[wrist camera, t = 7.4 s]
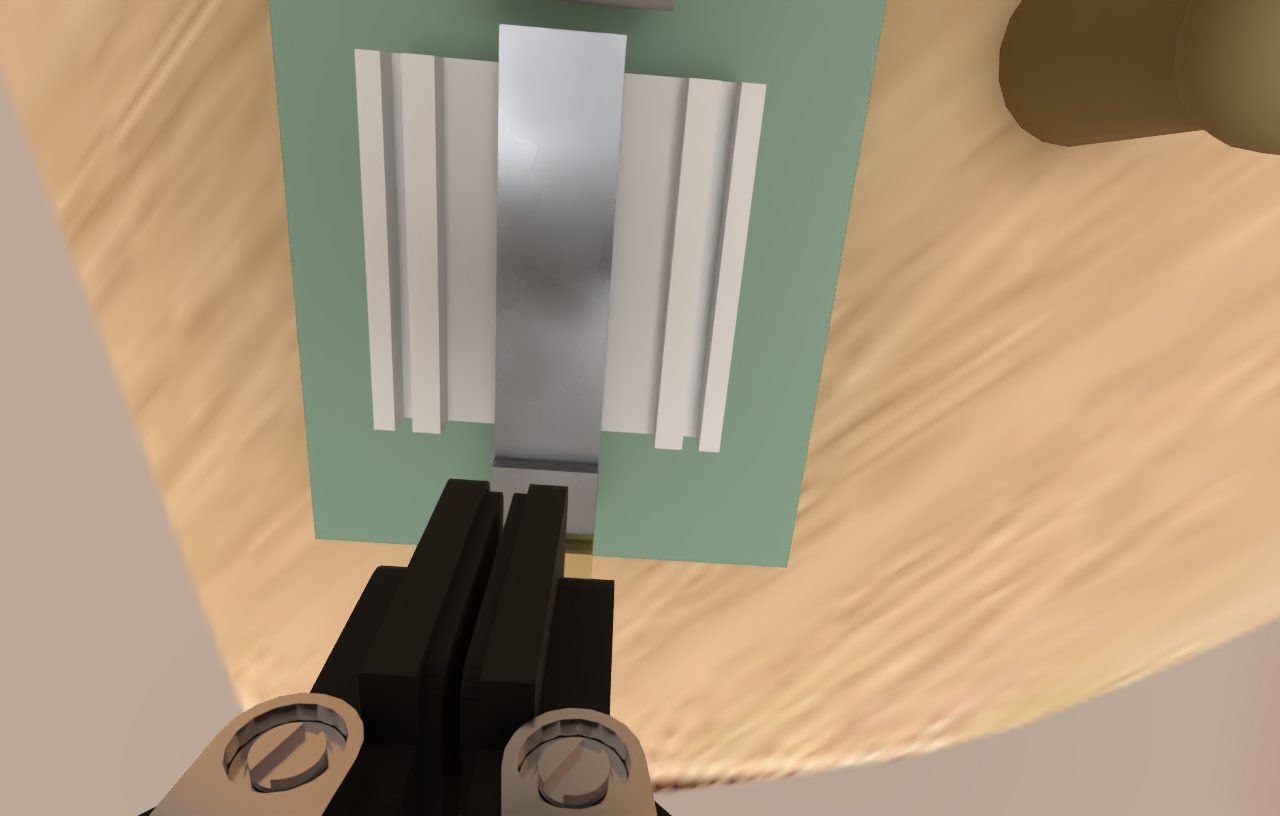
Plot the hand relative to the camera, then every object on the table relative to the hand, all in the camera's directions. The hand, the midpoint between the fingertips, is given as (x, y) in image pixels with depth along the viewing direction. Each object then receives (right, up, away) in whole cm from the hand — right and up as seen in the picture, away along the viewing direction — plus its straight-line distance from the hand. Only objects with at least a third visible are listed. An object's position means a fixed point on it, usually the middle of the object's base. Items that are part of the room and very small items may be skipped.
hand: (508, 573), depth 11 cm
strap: (0, +6, +11) cm, 12 cm away
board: (0, +9, +17) cm, 19 cm away
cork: (+17, +14, +15) cm, 27 cm away
